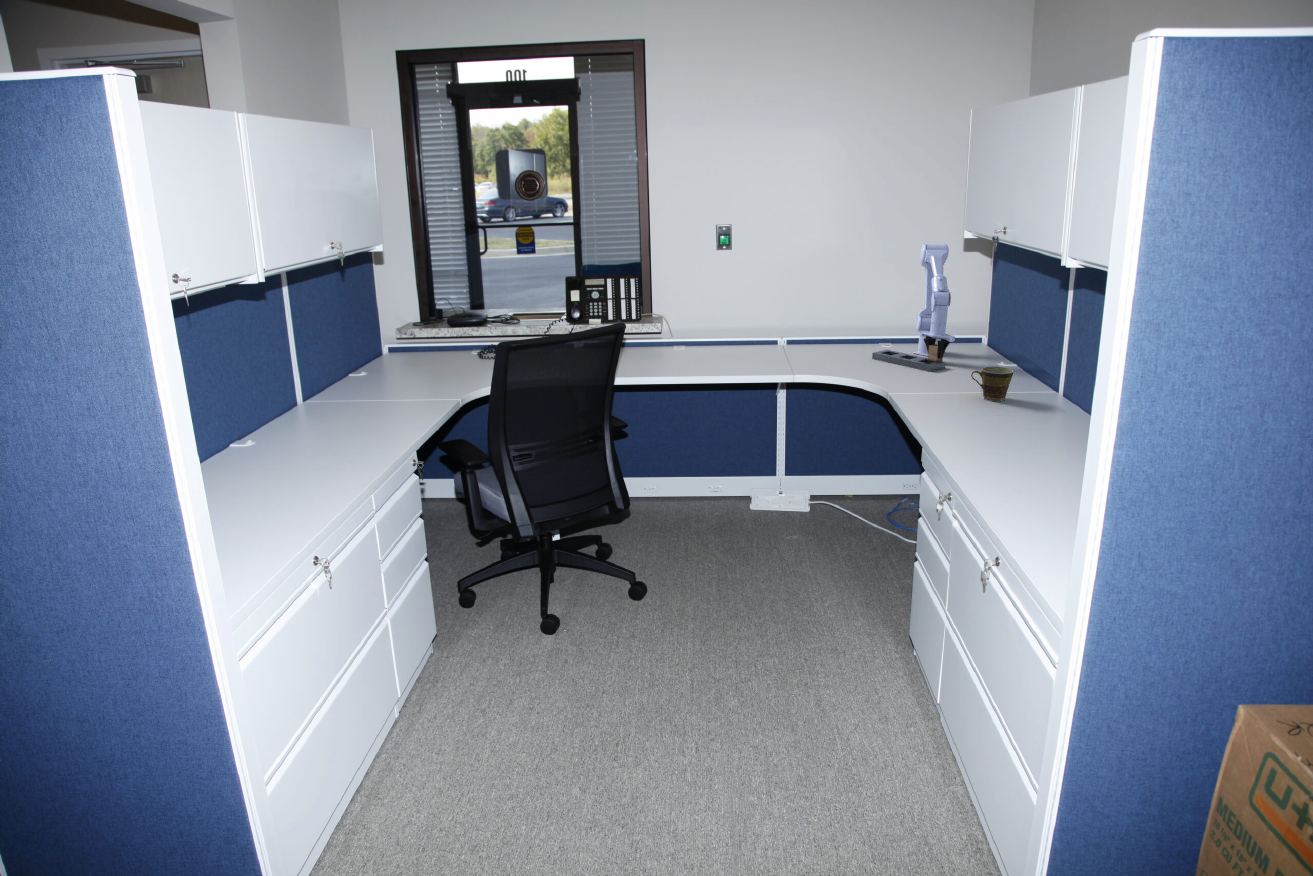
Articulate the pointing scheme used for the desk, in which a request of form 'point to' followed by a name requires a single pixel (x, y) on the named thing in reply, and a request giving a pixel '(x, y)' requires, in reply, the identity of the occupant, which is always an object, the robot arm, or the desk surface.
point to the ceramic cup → (994, 382)
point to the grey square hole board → (909, 360)
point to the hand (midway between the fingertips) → (935, 356)
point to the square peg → (934, 352)
